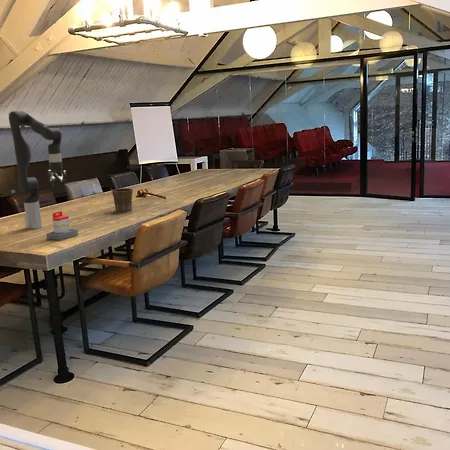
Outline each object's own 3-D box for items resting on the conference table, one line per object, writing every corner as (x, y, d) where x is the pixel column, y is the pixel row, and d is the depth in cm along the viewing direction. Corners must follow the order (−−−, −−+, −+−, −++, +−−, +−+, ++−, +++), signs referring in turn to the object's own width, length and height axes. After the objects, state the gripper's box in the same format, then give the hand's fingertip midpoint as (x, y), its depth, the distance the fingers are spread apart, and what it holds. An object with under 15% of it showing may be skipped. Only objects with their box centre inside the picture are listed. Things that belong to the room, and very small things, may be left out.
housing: (46, 239, 290) (46, 233, 289) (65, 233, 302) (64, 228, 301) (59, 240, 285) (59, 234, 284) (78, 235, 297) (77, 229, 297)
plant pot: (137, 211, 371) (135, 190, 367) (115, 213, 364) (114, 192, 361) (131, 207, 385) (129, 187, 382) (111, 210, 379) (109, 189, 375)
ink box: (60, 237, 289) (58, 213, 286) (54, 237, 291) (51, 213, 288) (70, 234, 297) (68, 210, 294) (64, 234, 299) (61, 210, 295)
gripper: (68, 160, 300) (71, 186, 303) (51, 160, 306) (54, 186, 310) (59, 161, 293) (62, 188, 297) (42, 161, 300) (45, 187, 303)
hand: (58, 187), depth 303 cm, fingers open, 8 cm apart
